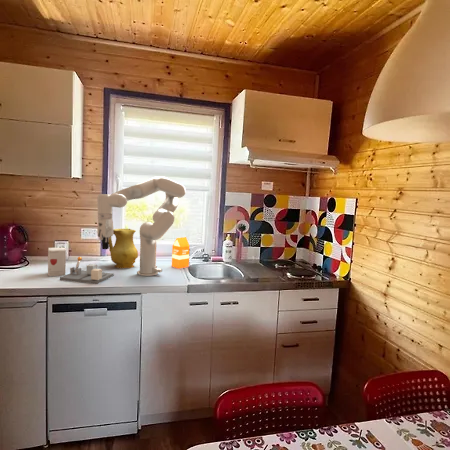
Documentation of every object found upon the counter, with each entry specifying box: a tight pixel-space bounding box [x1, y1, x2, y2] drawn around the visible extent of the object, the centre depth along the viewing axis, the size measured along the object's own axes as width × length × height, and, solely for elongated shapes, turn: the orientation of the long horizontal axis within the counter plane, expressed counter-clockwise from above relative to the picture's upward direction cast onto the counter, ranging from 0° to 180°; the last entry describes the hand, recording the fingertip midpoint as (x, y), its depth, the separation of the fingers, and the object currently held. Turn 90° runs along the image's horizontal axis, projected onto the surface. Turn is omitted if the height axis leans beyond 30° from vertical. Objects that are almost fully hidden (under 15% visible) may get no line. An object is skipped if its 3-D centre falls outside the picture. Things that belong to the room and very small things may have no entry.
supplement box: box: [47, 247, 67, 277], centre depth 197 cm, size 9×9×15 cm
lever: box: [73, 256, 83, 273], centre depth 196 cm, size 2×2×9 cm
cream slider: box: [91, 268, 103, 280], centre depth 186 cm, size 4×4×5 cm
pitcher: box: [108, 228, 139, 269], centre depth 225 cm, size 17×19×25 cm
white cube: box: [85, 263, 98, 275], centre depth 196 cm, size 4×4×5 cm
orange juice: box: [171, 236, 190, 269], centre depth 232 cm, size 8×9×20 cm
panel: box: [59, 266, 115, 285], centre depth 193 cm, size 22×18×5 cm
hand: (105, 248), depth 193 cm, fingers closed
